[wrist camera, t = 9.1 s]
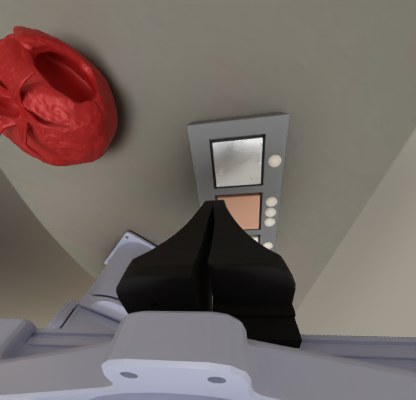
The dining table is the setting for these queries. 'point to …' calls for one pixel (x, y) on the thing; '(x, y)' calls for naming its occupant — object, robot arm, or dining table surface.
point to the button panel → (270, 169)
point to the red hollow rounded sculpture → (53, 100)
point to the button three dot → (243, 208)
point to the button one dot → (238, 160)
